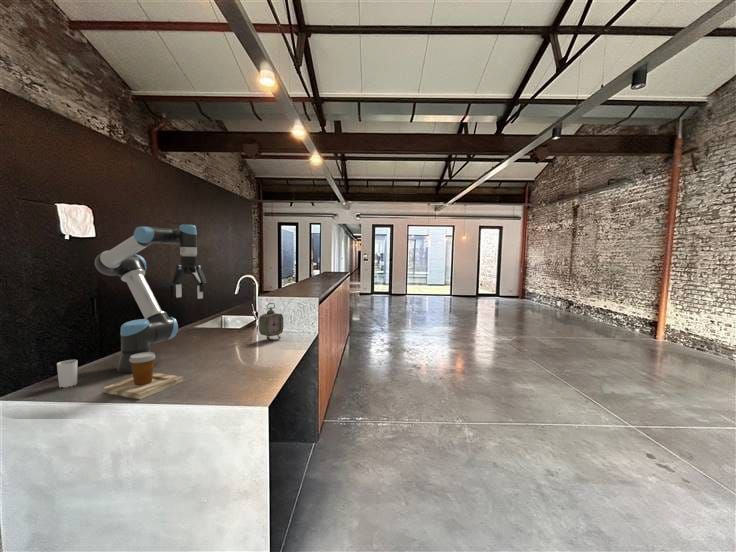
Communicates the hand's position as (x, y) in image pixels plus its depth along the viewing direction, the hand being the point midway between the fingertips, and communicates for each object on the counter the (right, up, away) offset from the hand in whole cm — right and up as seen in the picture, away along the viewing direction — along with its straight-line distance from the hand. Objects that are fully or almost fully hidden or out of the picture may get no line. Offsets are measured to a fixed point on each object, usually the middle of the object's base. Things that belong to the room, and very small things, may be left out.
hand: (189, 297), depth 171 cm
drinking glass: (-39, -36, -26) cm, 59 cm away
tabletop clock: (+25, -32, +57) cm, 70 cm away
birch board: (-4, -36, -27) cm, 45 cm away
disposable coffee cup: (-6, -35, -26) cm, 44 cm away
